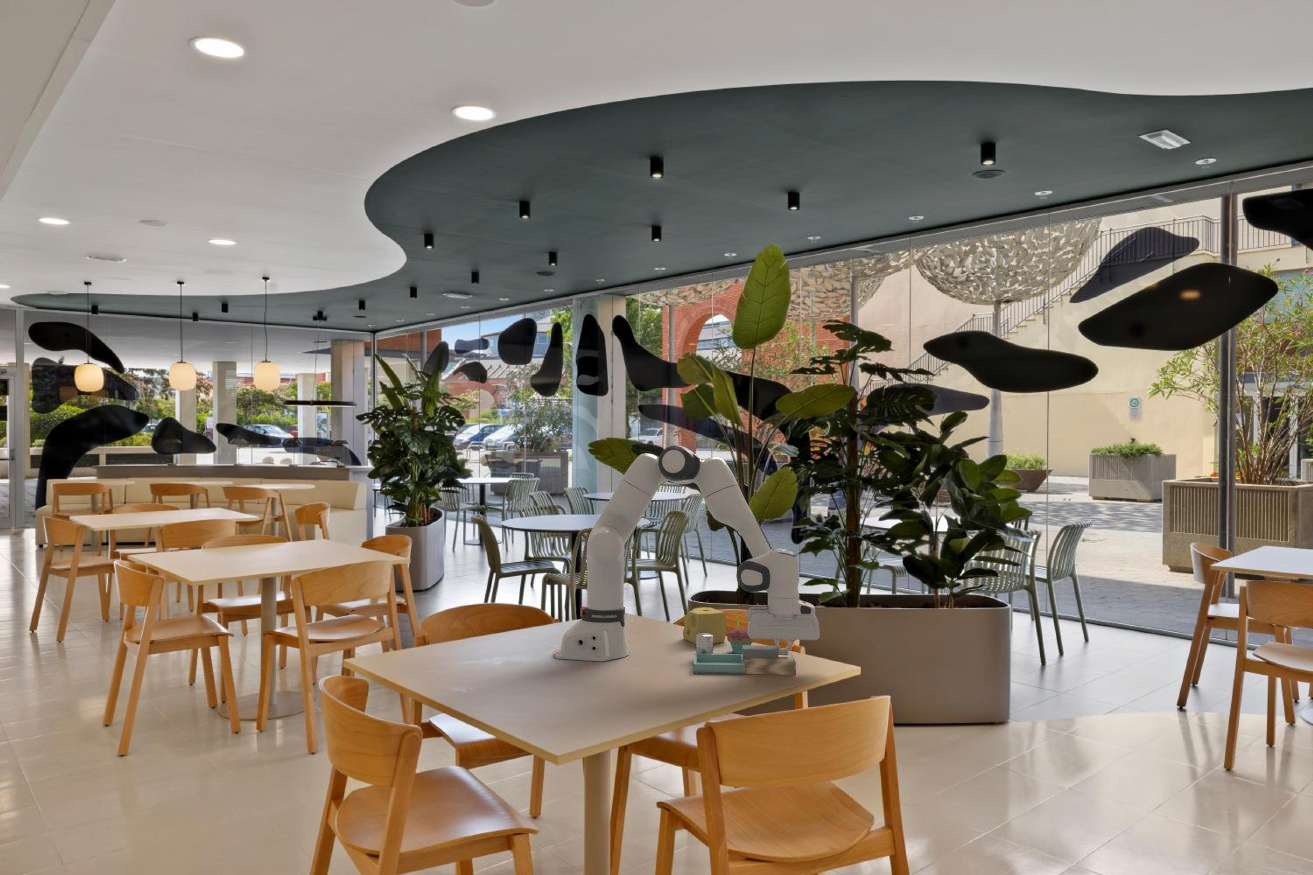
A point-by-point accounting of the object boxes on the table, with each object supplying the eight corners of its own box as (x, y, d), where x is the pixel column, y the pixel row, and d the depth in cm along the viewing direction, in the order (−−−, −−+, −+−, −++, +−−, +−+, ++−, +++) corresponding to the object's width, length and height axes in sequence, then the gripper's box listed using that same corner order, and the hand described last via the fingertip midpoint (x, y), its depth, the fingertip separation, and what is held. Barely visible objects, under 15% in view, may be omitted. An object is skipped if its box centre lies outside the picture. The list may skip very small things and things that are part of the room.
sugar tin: (696, 660, 267) (696, 636, 267) (696, 656, 272) (696, 633, 272) (713, 660, 267) (713, 636, 267) (713, 656, 272) (713, 633, 272)
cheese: (682, 639, 296) (682, 608, 296) (711, 636, 300) (711, 606, 300) (697, 645, 286) (697, 614, 286) (727, 642, 291) (727, 611, 291)
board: (745, 673, 252) (745, 661, 252) (743, 663, 264) (743, 651, 264) (795, 674, 251) (795, 661, 251) (791, 663, 263) (791, 651, 263)
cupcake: (745, 656, 272) (745, 616, 272) (721, 652, 277) (721, 613, 277) (759, 651, 278) (759, 612, 279) (736, 647, 284) (736, 609, 284)
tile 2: (760, 658, 255) (760, 649, 255) (759, 654, 260) (759, 645, 260) (778, 658, 255) (778, 649, 255) (777, 654, 260) (777, 645, 260)
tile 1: (742, 657, 255) (742, 649, 255) (742, 653, 260) (742, 645, 260) (760, 658, 255) (760, 649, 255) (759, 654, 260) (759, 645, 260)
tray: (694, 672, 252) (694, 663, 252) (694, 662, 265) (694, 653, 265) (745, 673, 251) (745, 664, 251) (743, 662, 264) (743, 654, 264)
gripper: (747, 607, 255) (747, 656, 254) (820, 608, 253) (820, 658, 253) (746, 603, 261) (745, 651, 261) (817, 604, 260) (817, 652, 260)
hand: (783, 654), depth 257 cm, fingers closed
